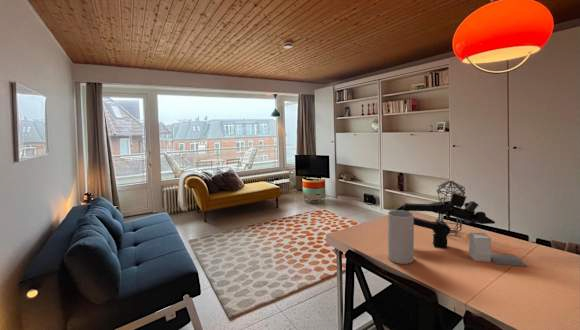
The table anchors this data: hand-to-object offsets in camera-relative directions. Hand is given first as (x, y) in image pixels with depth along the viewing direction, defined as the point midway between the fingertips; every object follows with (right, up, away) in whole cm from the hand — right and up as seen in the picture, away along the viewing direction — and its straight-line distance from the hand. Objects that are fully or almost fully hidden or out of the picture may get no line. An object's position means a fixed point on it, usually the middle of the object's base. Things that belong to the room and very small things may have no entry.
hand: (490, 222), depth 150 cm
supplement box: (-12, -17, -8) cm, 22 cm away
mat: (-1, -17, -12) cm, 21 cm away
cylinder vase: (-52, -19, -5) cm, 55 cm away
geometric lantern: (-7, -13, +26) cm, 30 cm away
